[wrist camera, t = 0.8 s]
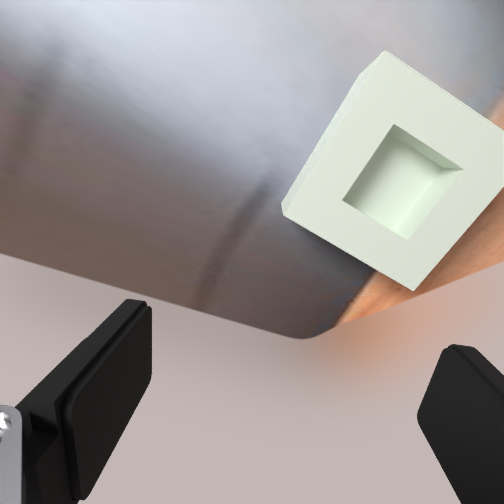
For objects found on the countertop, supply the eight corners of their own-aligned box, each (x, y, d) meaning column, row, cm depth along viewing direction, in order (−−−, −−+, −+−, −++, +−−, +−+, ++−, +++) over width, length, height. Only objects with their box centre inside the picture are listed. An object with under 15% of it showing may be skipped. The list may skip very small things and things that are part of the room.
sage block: (359, 74, 31) (385, 49, 24) (476, 152, 32) (534, 151, 25) (281, 203, 36) (283, 215, 29) (386, 265, 37) (413, 291, 30)
